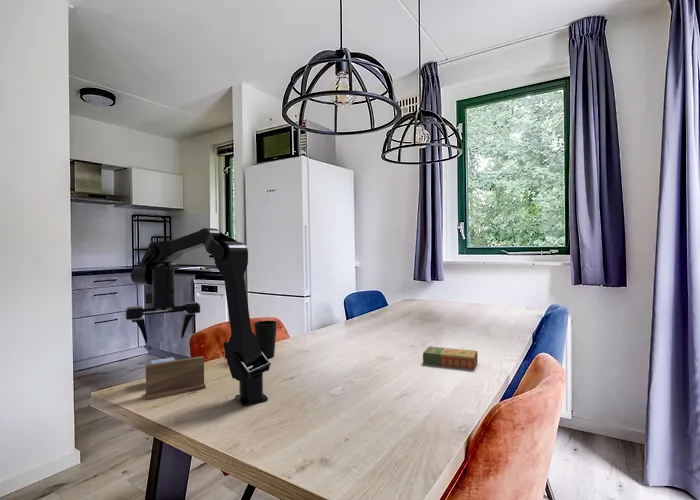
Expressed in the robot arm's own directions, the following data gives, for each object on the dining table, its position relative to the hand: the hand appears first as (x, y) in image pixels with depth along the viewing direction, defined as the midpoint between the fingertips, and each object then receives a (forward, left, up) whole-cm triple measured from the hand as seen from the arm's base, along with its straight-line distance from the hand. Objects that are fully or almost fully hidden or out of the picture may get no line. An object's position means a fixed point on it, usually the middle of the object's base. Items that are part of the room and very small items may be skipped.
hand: (164, 340), depth 108 cm
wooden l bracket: (-9, -2, -12) cm, 15 cm away
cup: (+8, -33, -12) cm, 36 cm away
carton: (-33, -80, -12) cm, 87 cm away
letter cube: (0, 0, -12) cm, 12 cm away
